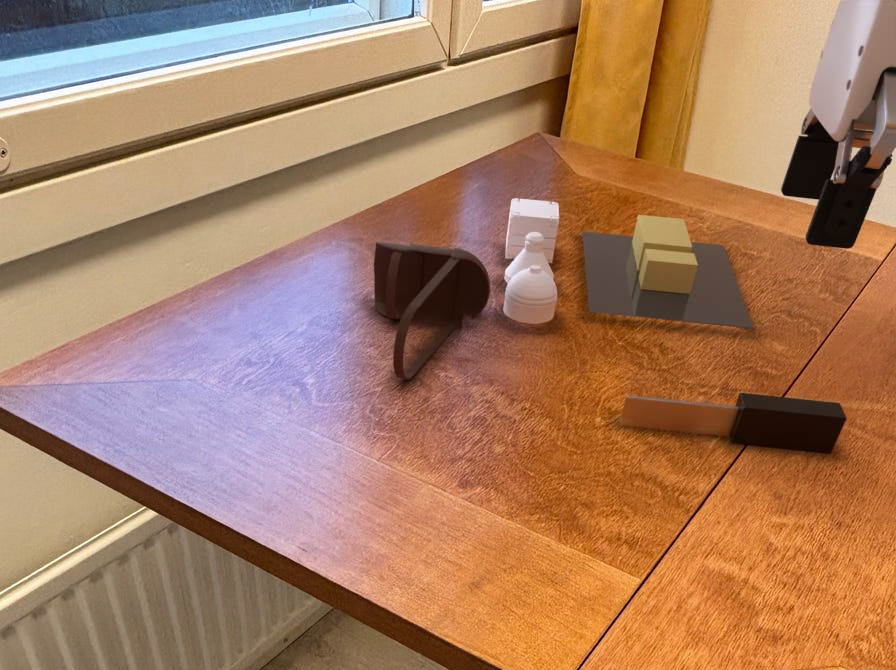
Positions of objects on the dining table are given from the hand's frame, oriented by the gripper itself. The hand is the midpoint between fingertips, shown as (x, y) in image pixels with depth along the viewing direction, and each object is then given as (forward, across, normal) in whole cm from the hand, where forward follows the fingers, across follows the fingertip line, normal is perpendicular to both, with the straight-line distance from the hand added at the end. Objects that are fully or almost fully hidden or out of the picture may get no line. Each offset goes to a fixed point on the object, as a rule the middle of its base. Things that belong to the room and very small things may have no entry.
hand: (813, 219), depth 64 cm
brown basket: (+16, +6, +29) cm, 34 cm away
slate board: (+16, +26, +5) cm, 31 cm away
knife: (+16, -4, +2) cm, 17 cm away
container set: (+16, +21, +19) cm, 33 cm away
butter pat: (+15, +23, +5) cm, 28 cm away
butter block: (+15, +30, +5) cm, 34 cm away
